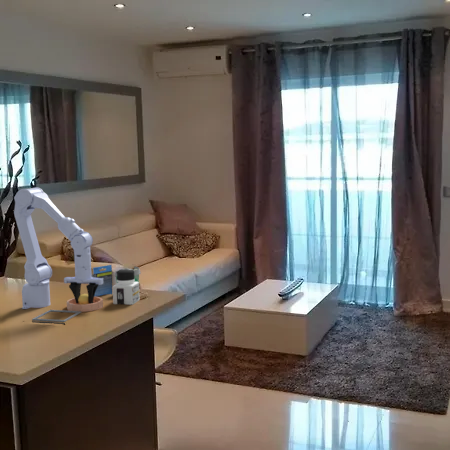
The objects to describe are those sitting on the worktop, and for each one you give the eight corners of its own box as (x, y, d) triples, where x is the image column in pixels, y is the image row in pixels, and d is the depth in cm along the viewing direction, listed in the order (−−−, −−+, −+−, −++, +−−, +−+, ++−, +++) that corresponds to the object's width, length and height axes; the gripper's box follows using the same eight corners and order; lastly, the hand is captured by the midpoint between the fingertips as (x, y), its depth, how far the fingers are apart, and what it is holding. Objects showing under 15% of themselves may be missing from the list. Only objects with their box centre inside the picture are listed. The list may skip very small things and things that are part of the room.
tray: (32, 322, 206) (32, 318, 205) (50, 313, 217) (50, 309, 217) (64, 324, 203) (64, 320, 203) (81, 314, 214) (81, 311, 214)
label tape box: (107, 293, 246) (106, 263, 245) (113, 294, 243) (112, 264, 242) (88, 297, 240) (87, 266, 238) (94, 298, 237) (93, 267, 236)
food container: (127, 298, 237) (126, 272, 236) (115, 296, 240) (114, 271, 239) (147, 291, 247) (146, 267, 246) (136, 290, 251) (135, 266, 249)
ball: (76, 306, 220) (75, 294, 219) (81, 303, 224) (81, 292, 224) (87, 307, 219) (87, 295, 218) (93, 304, 223) (92, 292, 223)
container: (132, 306, 224) (131, 271, 222) (113, 306, 225) (111, 271, 224) (139, 301, 231) (138, 267, 230) (120, 300, 233) (119, 267, 231)
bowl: (60, 313, 217) (60, 304, 217) (77, 304, 229) (76, 295, 229) (93, 314, 214) (93, 305, 214) (108, 305, 226) (108, 297, 226)
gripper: (59, 267, 217) (61, 304, 219) (96, 269, 214) (98, 306, 216) (68, 264, 224) (70, 300, 226) (105, 265, 221) (106, 301, 223)
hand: (84, 303), depth 221 cm, fingers closed on ball, 4 cm apart
